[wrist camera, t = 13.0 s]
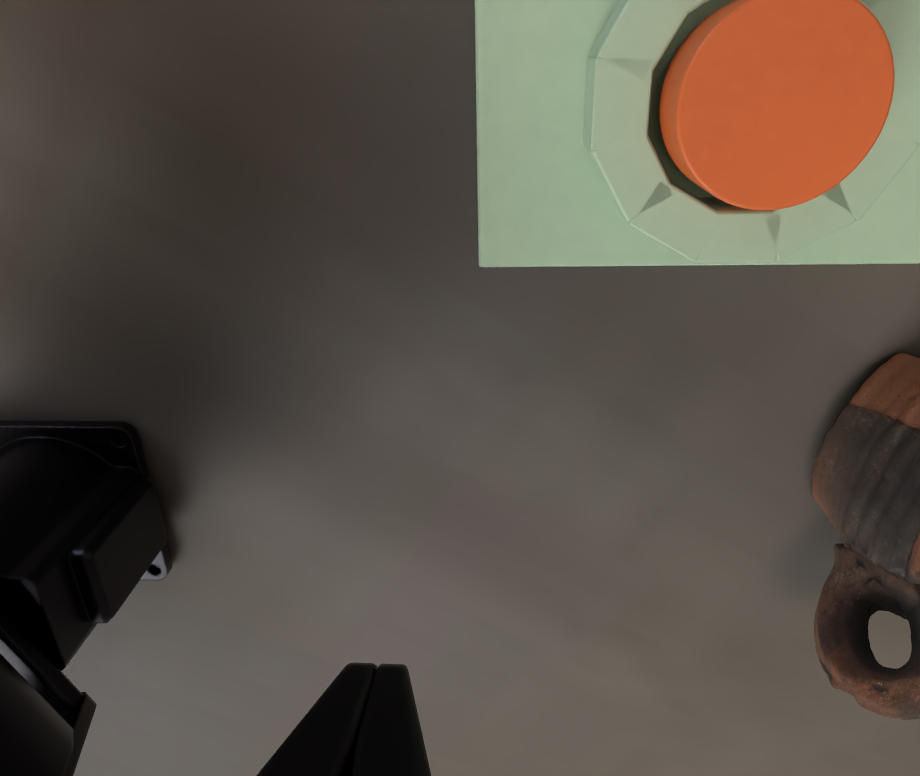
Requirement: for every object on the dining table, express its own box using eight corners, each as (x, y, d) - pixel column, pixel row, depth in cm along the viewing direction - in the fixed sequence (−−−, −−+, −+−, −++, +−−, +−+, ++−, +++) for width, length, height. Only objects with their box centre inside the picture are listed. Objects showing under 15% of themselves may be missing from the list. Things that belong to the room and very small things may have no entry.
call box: (481, 247, 20) (475, 288, 16) (477, -81, 17) (468, -120, 13) (911, 242, 19) (1004, 285, 16) (1000, -104, 16) (1145, -153, 12)
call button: (650, 197, 16) (666, 212, 14) (668, -5, 14) (688, -14, 12) (832, 194, 15) (869, 210, 14) (873, -12, 14) (921, -22, 12)
